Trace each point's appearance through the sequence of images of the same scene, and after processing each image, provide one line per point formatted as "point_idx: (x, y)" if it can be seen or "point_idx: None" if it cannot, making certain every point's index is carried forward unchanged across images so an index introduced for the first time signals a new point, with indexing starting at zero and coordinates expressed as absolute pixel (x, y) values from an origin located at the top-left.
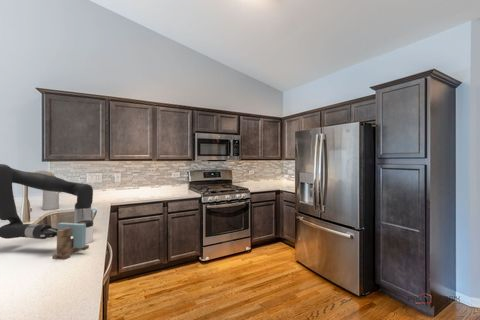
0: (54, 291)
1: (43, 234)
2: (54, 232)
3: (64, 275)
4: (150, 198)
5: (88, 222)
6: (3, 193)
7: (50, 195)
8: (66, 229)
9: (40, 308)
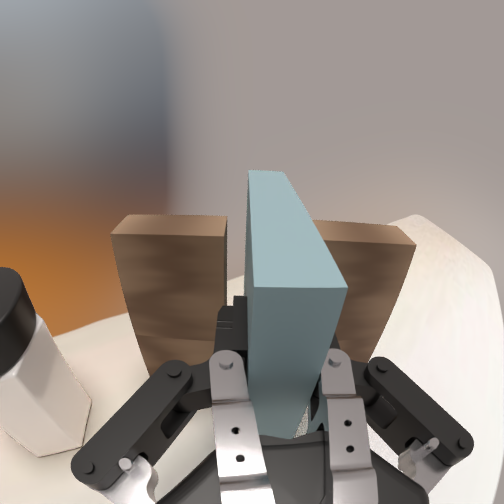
0: (438, 257)
1: (448, 428)
2: (375, 358)
3: (406, 277)
4: None
5: (6, 276)
6: None
7: None
8: (356, 223)
9: (458, 248)
